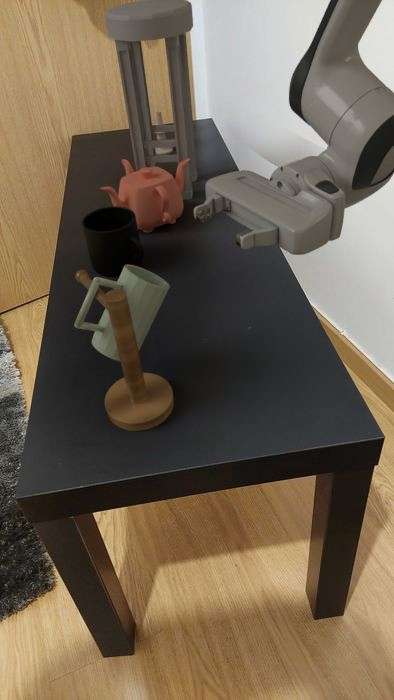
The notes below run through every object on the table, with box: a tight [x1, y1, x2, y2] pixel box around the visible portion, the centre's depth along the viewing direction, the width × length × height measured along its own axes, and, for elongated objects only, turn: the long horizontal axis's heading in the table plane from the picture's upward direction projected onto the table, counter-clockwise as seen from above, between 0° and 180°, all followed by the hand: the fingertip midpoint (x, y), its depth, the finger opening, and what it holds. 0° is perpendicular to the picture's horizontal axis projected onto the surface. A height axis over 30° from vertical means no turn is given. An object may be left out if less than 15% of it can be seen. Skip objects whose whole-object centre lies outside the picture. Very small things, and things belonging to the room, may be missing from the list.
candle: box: [153, 111, 174, 155], centre depth 130 cm, size 5×5×10 cm
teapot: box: [99, 158, 190, 234], centre depth 102 cm, size 14×14×11 cm
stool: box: [104, 0, 198, 201], centre depth 104 cm, size 16×16×35 cm
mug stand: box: [74, 269, 175, 432], centre depth 64 cm, size 16×9×18 cm, turn 34°
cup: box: [73, 264, 171, 362], centre depth 64 cm, size 10×6×11 cm
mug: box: [81, 205, 145, 277], centre depth 91 cm, size 9×12×9 cm
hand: (217, 228), depth 66 cm, fingers open, 8 cm apart
